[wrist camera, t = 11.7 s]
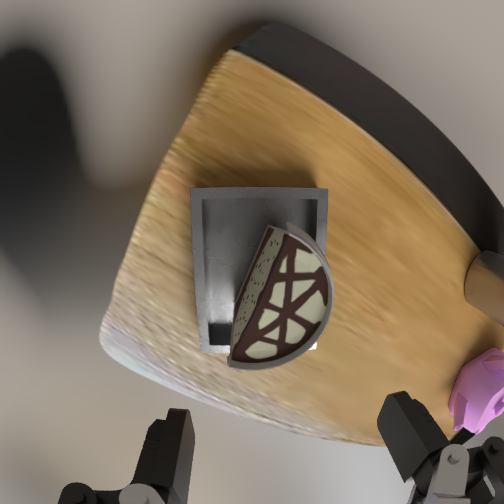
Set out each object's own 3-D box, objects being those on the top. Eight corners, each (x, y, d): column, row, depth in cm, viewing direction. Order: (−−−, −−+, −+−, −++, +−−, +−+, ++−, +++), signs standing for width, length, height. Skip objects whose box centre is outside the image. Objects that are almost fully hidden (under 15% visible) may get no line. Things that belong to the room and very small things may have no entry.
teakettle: (458, 412, 41) (482, 443, 29) (429, 402, 38) (459, 442, 26) (503, 355, 38) (533, 381, 26) (484, 332, 35) (524, 363, 23)
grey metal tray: (317, 188, 28) (328, 188, 24) (308, 333, 32) (315, 349, 28) (196, 187, 27) (190, 188, 24) (204, 336, 31) (200, 352, 28)
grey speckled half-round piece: (279, 332, 31) (295, 389, 21) (229, 315, 30) (226, 372, 20) (327, 233, 28) (368, 259, 18) (273, 210, 27) (292, 225, 18)
